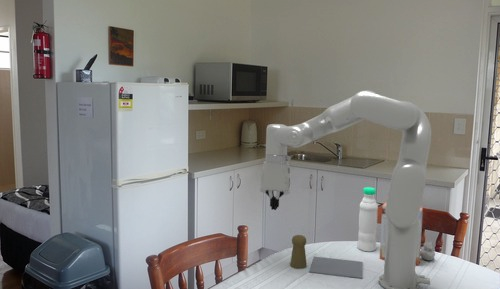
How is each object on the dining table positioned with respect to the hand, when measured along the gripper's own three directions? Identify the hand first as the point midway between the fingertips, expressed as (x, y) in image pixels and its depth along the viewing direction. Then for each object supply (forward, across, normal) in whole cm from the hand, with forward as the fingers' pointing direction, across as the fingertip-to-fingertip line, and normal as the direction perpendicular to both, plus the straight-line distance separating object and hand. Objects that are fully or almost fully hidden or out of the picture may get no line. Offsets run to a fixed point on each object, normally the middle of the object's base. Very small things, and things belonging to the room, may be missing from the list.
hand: (274, 208), depth 154 cm
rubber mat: (+20, -23, -2) cm, 31 cm away
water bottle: (+20, -34, -24) cm, 46 cm away
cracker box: (+20, -46, -16) cm, 52 cm away
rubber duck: (+20, -56, -20) cm, 62 cm away
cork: (+20, -10, 0) cm, 23 cm away
